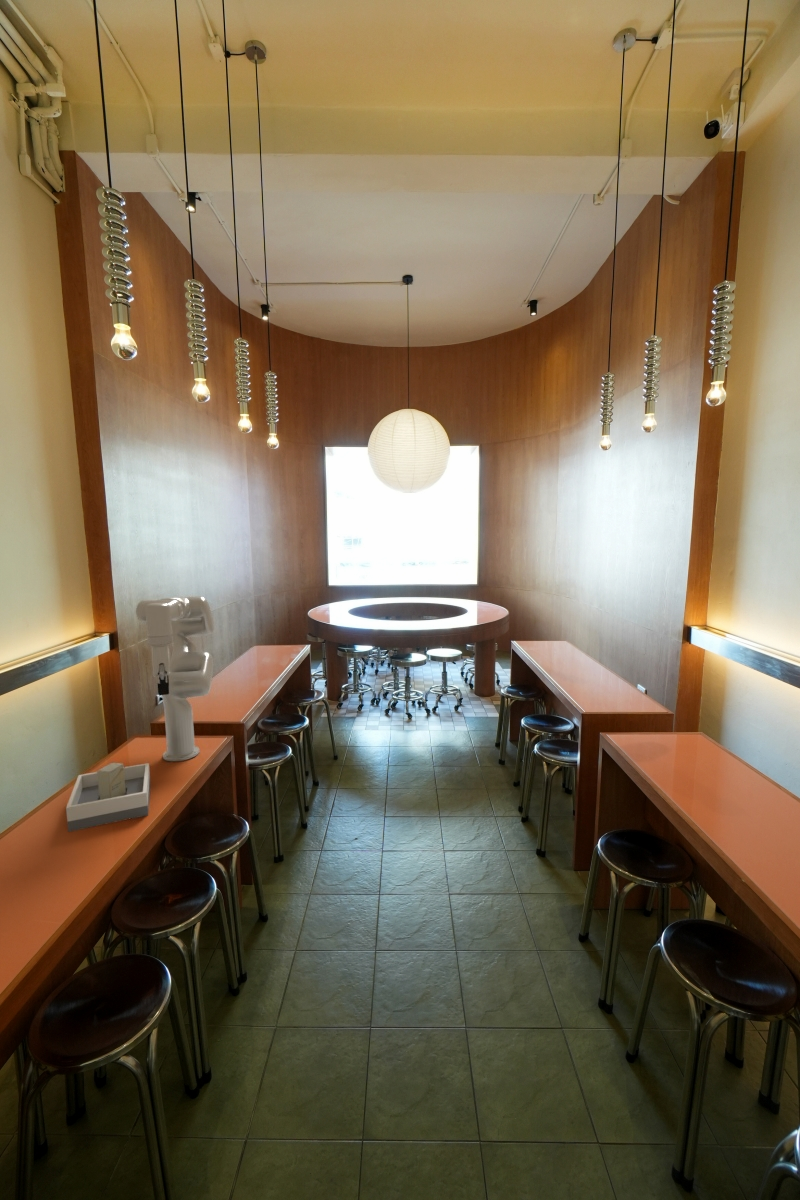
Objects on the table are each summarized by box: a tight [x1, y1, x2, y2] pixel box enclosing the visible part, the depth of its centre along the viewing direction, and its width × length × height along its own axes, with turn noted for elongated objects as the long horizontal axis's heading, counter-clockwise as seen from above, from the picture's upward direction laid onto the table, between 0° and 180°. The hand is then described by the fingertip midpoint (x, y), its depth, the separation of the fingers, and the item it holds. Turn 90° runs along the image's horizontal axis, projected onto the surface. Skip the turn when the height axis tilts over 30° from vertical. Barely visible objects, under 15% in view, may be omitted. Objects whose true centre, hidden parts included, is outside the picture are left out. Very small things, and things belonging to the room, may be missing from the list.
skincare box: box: [96, 762, 126, 800], centre depth 157 cm, size 6×4×12 cm
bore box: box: [65, 762, 151, 833], centre depth 157 cm, size 22×20×7 cm
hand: (163, 690), depth 172 cm, fingers open, 9 cm apart
